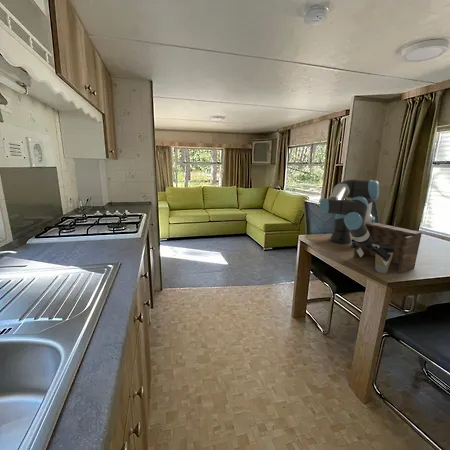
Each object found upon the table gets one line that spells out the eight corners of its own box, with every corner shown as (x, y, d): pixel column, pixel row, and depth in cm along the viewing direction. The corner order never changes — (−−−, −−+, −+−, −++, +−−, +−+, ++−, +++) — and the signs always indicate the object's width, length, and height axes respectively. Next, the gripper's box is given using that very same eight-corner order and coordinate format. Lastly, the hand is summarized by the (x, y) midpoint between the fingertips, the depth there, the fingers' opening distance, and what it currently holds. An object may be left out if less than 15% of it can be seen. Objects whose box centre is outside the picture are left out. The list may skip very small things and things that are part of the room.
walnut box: (353, 257, 166) (358, 224, 160) (367, 253, 174) (372, 222, 168) (400, 273, 142) (407, 235, 137) (414, 268, 150) (421, 232, 145)
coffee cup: (381, 275, 139) (385, 249, 136) (367, 268, 148) (371, 244, 145) (394, 273, 142) (399, 248, 138) (380, 267, 151) (384, 243, 147)
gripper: (335, 235, 137) (349, 257, 148) (383, 249, 116) (394, 273, 127) (343, 225, 138) (356, 247, 149) (391, 237, 117) (402, 261, 128)
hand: (373, 259), depth 138 cm, fingers open, 13 cm apart
